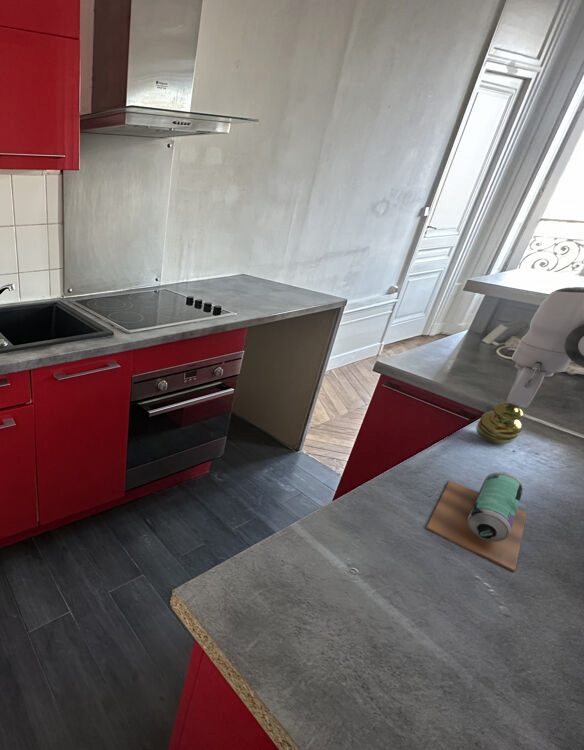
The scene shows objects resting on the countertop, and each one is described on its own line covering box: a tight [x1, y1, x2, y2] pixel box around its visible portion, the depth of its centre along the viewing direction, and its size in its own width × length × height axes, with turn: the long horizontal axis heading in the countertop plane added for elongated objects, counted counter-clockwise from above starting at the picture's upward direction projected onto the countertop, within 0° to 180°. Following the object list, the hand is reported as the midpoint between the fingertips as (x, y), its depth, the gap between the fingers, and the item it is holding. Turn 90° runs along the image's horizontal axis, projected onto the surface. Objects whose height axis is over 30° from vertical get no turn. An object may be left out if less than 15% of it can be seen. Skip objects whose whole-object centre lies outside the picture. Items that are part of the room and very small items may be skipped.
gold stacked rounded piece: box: [475, 402, 524, 445], centre depth 99 cm, size 7×7×10 cm
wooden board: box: [425, 480, 528, 573], centre depth 78 cm, size 20×12×1 cm, turn 131°
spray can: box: [468, 472, 524, 542], centre depth 77 cm, size 6×6×20 cm
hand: (510, 409), depth 99 cm, fingers closed
